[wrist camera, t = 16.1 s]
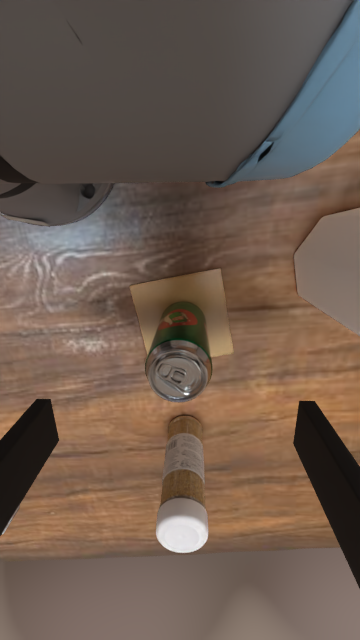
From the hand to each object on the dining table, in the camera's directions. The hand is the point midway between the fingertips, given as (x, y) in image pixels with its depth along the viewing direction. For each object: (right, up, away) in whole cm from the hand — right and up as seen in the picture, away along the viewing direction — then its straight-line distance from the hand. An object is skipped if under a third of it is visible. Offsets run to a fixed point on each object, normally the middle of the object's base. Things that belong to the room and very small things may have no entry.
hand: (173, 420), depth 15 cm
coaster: (+1, +5, +17) cm, 18 cm away
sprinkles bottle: (+1, -9, +22) cm, 23 cm away
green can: (+1, +5, +16) cm, 17 cm away
